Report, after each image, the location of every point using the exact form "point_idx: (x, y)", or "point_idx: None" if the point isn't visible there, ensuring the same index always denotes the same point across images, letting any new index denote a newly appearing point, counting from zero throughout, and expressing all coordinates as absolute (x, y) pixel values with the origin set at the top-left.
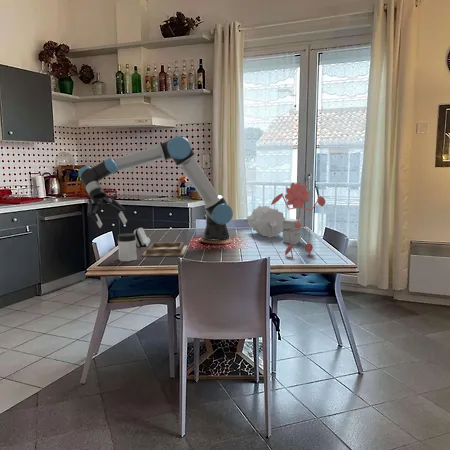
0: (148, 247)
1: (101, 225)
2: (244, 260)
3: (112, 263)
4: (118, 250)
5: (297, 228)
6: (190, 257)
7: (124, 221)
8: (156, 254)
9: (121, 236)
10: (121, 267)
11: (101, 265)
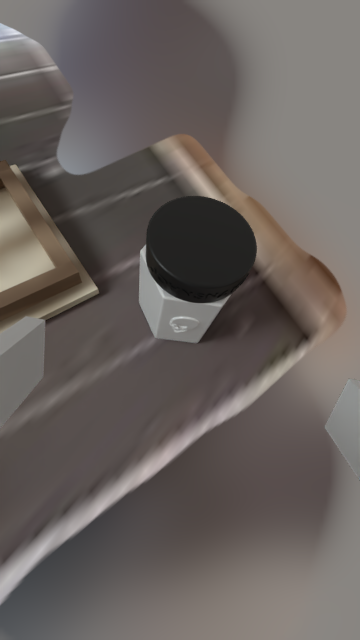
0: (26, 293)
1: (347, 396)
2: (15, 32)
3: (257, 314)
4: (208, 327)
5: None
6: (39, 143)
7: (36, 350)
8: (68, 245)
9: (253, 233)
10: (269, 250)
11: (300, 328)
